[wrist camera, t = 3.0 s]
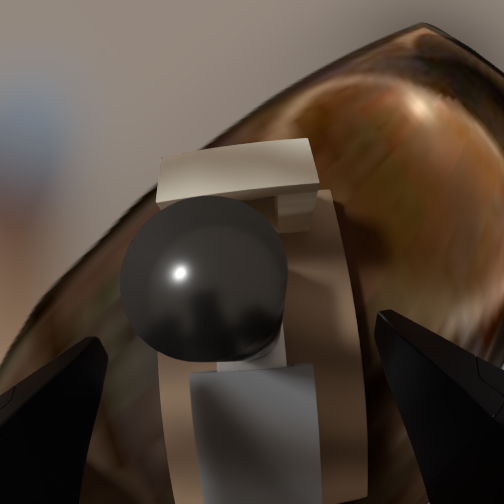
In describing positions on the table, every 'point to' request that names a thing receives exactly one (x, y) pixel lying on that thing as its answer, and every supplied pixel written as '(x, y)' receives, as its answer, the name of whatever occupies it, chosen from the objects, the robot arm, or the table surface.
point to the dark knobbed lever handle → (208, 284)
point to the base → (296, 347)
